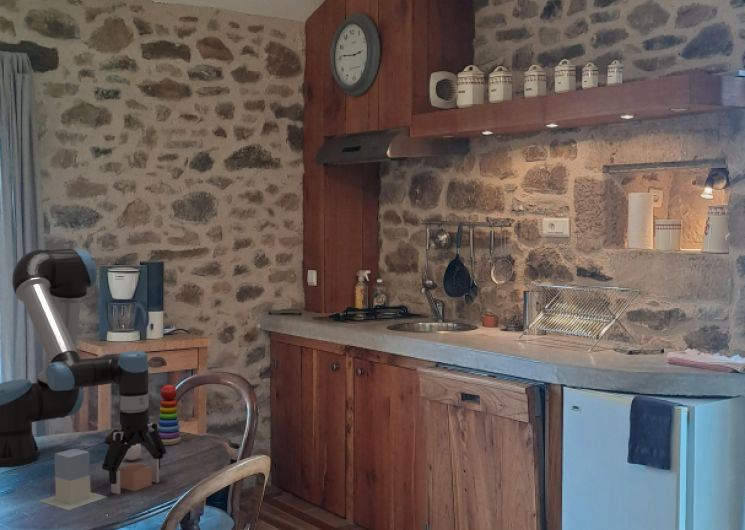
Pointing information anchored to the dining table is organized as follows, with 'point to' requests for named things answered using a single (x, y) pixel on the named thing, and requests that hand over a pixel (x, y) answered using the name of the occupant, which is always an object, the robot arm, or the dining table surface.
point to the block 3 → (135, 476)
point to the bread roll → (108, 437)
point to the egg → (133, 452)
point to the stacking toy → (169, 417)
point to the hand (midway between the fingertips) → (135, 488)
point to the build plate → (67, 506)
